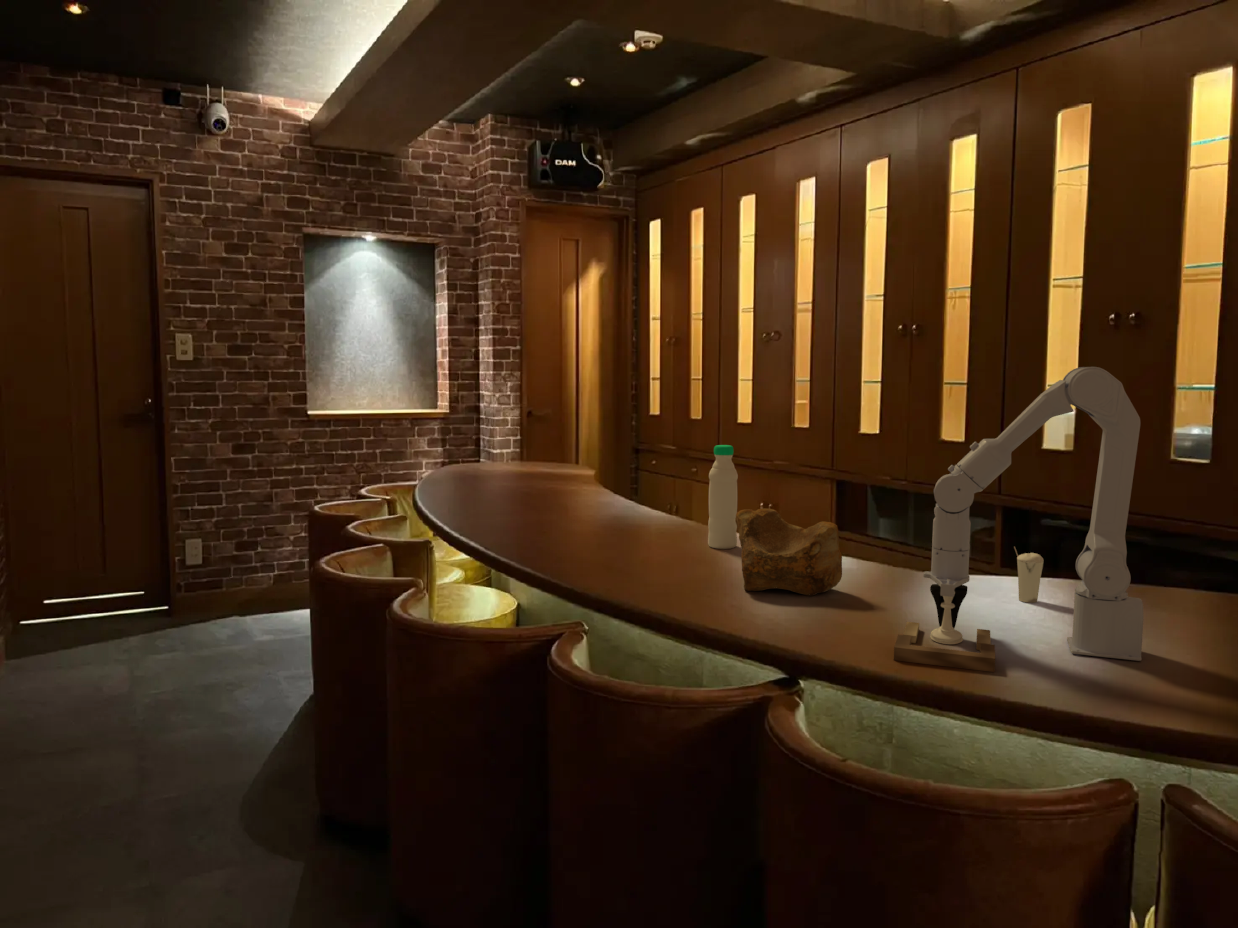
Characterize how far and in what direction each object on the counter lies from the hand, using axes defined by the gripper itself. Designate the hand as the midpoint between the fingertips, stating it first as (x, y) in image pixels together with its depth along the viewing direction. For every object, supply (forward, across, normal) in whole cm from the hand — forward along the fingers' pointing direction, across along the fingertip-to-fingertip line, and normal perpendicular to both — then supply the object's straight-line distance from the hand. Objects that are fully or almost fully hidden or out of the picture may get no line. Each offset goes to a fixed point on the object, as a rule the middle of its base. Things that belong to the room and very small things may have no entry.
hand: (947, 629), depth 147 cm
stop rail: (+1, +13, 0) cm, 13 cm away
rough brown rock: (+2, -21, -33) cm, 39 cm away
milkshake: (+1, -30, +13) cm, 33 cm away
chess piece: (+1, +2, 0) cm, 3 cm away
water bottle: (+1, -58, -54) cm, 79 cm away
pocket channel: (+1, +2, 0) cm, 2 cm away
